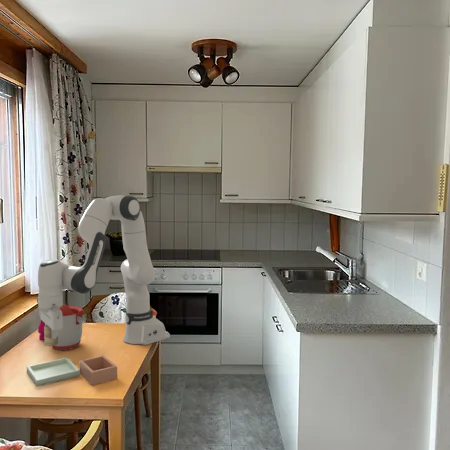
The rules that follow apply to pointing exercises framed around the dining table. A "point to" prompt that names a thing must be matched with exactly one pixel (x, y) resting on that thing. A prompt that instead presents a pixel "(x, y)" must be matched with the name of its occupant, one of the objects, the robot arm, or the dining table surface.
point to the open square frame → (99, 375)
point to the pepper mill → (41, 330)
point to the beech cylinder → (49, 337)
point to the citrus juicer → (70, 328)
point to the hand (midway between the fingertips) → (51, 336)
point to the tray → (52, 371)
